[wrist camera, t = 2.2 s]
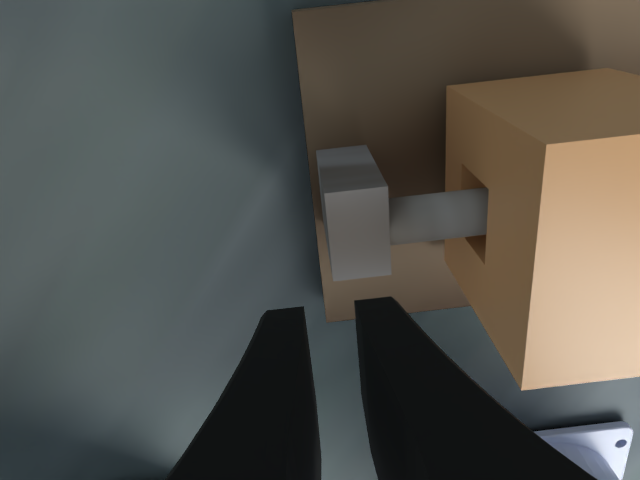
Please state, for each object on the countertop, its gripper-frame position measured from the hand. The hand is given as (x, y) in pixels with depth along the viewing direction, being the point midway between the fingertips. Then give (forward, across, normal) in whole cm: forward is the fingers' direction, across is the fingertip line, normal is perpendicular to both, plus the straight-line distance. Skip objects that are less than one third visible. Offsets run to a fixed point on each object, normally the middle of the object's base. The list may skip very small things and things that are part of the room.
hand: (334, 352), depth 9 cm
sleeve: (+7, -6, 0) cm, 10 cm away
